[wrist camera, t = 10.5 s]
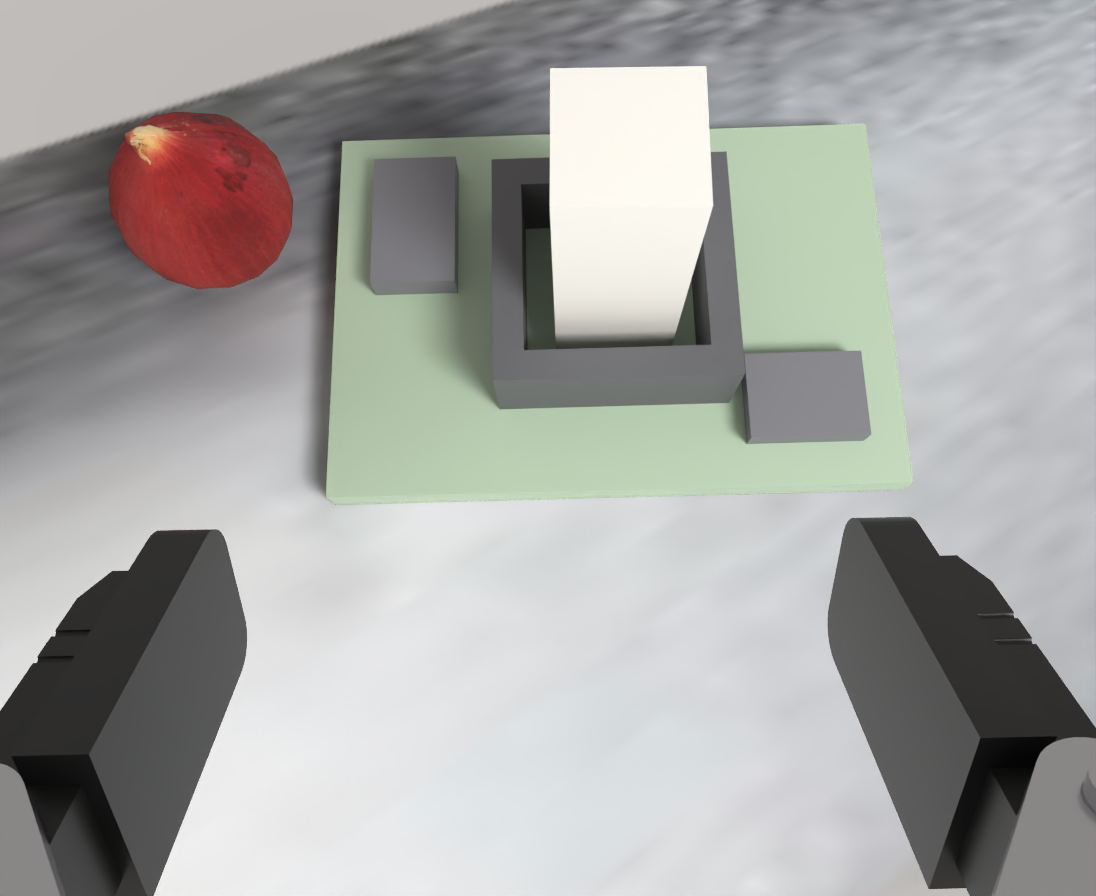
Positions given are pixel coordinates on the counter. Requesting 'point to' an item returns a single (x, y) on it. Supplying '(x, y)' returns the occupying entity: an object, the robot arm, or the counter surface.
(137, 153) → the onion
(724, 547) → the counter surface
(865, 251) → the board
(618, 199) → the plug
